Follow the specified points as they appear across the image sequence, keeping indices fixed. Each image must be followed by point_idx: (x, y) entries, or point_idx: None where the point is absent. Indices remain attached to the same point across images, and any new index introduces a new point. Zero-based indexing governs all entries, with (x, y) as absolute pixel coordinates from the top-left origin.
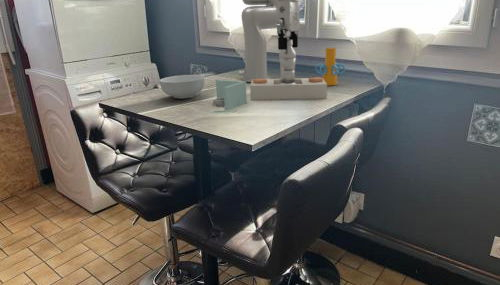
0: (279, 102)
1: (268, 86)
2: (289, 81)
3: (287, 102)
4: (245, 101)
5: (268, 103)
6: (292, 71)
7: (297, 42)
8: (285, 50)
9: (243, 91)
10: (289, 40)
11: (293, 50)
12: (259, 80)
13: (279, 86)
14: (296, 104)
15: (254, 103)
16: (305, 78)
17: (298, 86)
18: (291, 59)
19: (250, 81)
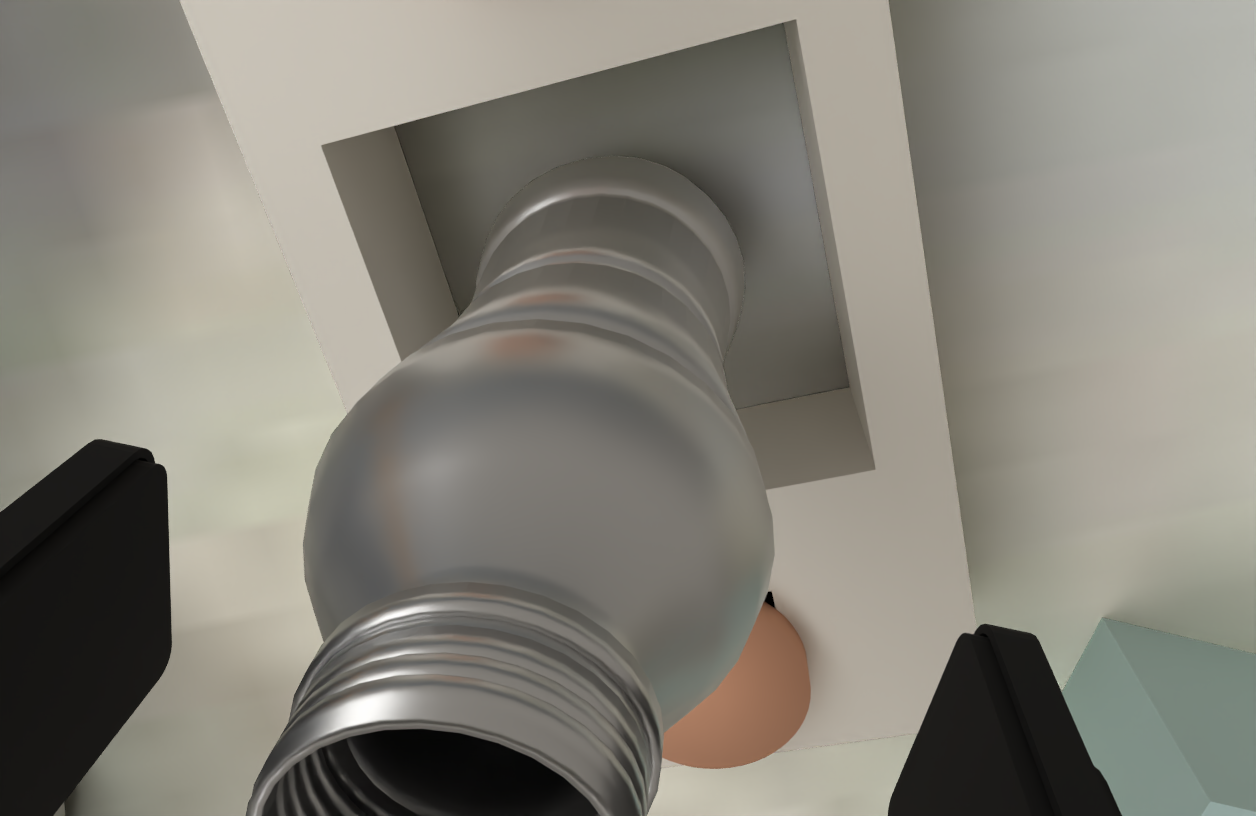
0: (1095, 270)
1: (959, 514)
2: (719, 275)
3: (1098, 167)
4: (1132, 635)
5: (1150, 388)
6: (669, 282)
7: (27, 514)
8: (708, 655)
9: (1224, 728)
10: (604, 784)
11: (578, 459)
12: (775, 686)
13: (937, 371)
14: (1235, 15)
15: (1143, 535)
16: (232, 74)
17: (896, 78)
18: (717, 390)
19: (61, 810)
